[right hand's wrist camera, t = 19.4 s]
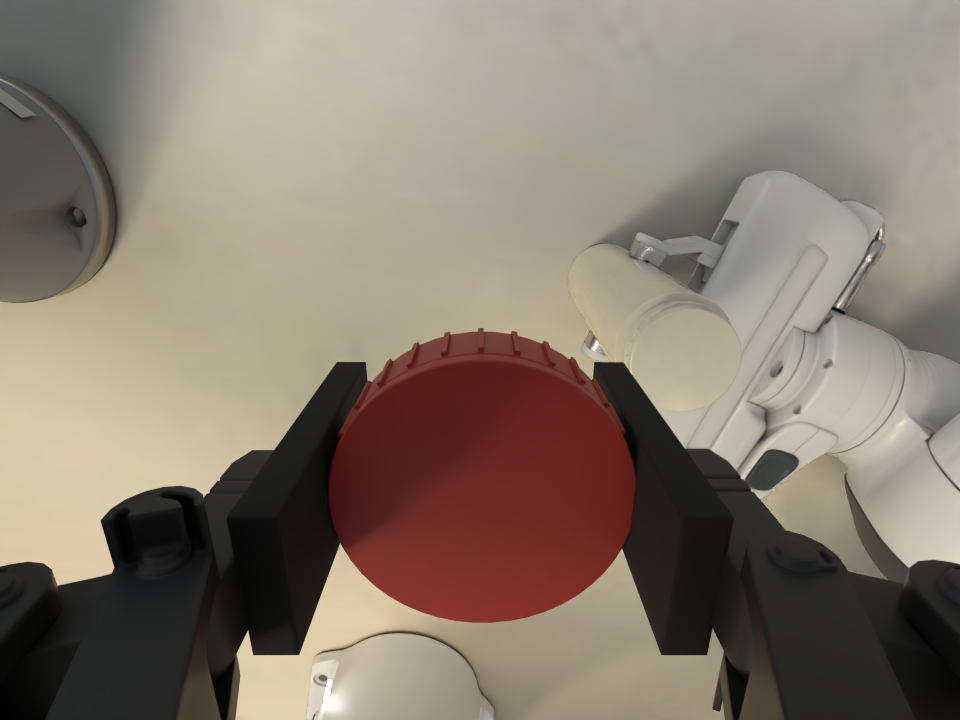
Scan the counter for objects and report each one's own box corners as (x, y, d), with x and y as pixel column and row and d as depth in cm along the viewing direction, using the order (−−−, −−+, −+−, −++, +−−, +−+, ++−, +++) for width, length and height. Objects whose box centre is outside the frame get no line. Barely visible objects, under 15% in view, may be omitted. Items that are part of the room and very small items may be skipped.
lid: (665, 378, 11) (696, 415, 10) (558, 593, 13) (569, 654, 12) (386, 287, 11) (369, 311, 9) (318, 528, 13) (294, 583, 11)
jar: (553, 270, 39) (598, 346, 22) (617, 228, 38) (714, 274, 21) (591, 328, 41) (659, 440, 24) (653, 289, 39) (772, 378, 23)
